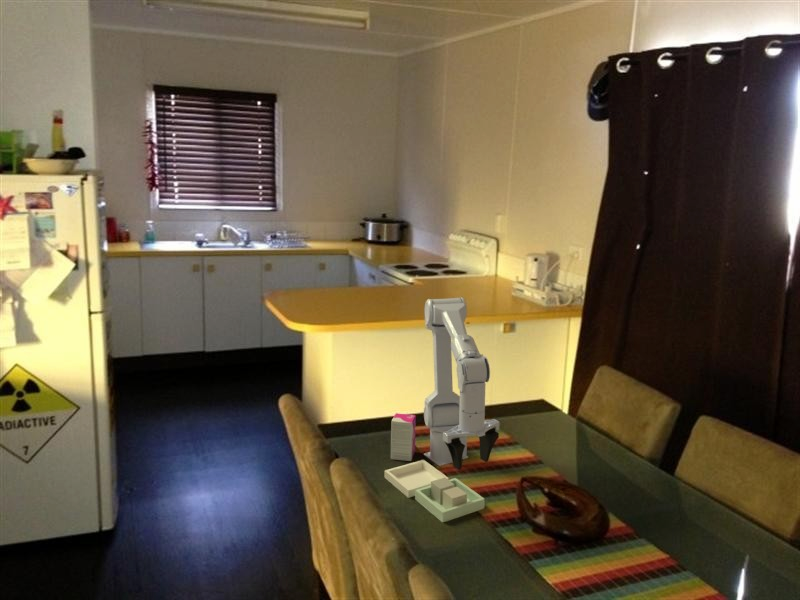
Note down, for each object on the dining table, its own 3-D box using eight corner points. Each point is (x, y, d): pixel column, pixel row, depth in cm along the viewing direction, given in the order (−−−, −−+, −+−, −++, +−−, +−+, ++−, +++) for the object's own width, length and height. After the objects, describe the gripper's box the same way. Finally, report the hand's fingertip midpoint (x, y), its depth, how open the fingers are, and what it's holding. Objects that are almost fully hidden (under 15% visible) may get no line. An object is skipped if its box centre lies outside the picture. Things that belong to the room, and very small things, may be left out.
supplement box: (411, 463, 181) (411, 422, 179) (390, 461, 182) (389, 421, 180) (415, 453, 187) (415, 414, 184) (394, 451, 188) (394, 412, 185)
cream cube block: (444, 492, 165) (444, 477, 164) (454, 499, 162) (454, 484, 161) (430, 497, 163) (430, 481, 162) (440, 504, 160) (440, 488, 159)
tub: (455, 488, 168) (455, 477, 167) (484, 510, 158) (484, 498, 157) (415, 501, 162) (415, 490, 162) (442, 524, 152) (442, 512, 152)
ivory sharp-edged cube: (456, 501, 161) (457, 486, 160) (466, 509, 157) (466, 493, 157) (442, 506, 159) (442, 490, 158) (452, 514, 156) (452, 498, 155)
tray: (423, 468, 178) (423, 459, 178) (448, 487, 169) (448, 478, 168) (384, 479, 173) (384, 470, 172) (408, 500, 163) (408, 490, 162)
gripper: (455, 421, 148) (455, 479, 151) (508, 408, 155) (506, 463, 159) (437, 410, 154) (437, 466, 157) (489, 398, 161) (487, 451, 164)
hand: (470, 464), depth 158 cm, fingers open, 7 cm apart
